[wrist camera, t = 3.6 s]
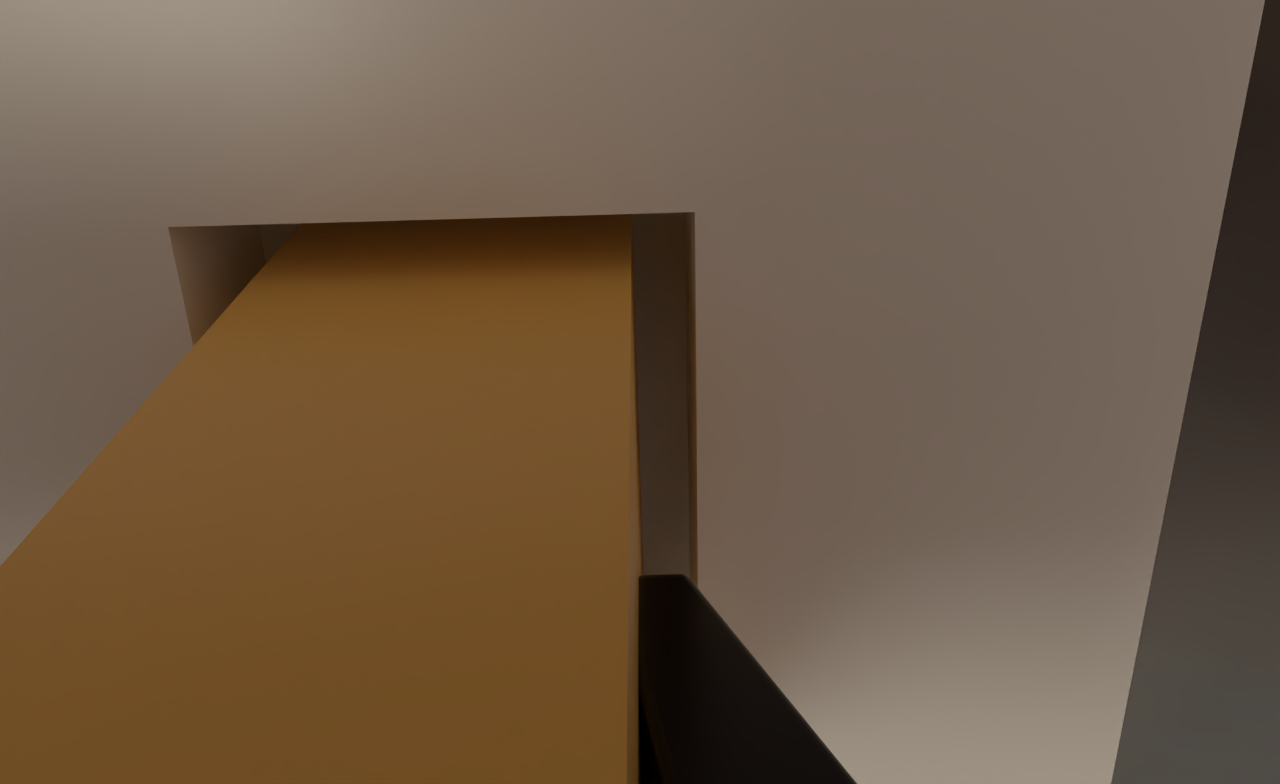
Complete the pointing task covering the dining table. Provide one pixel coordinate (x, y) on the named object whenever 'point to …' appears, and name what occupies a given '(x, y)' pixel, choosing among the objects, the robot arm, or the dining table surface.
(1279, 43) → the dining table surface
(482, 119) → the fuse block
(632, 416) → the orange rectangular block
